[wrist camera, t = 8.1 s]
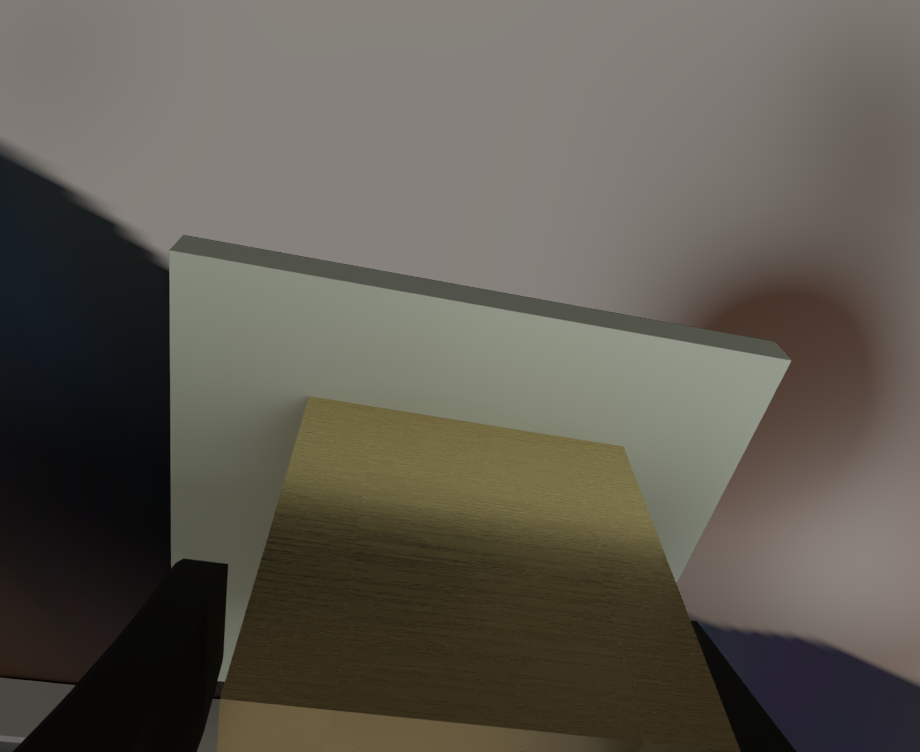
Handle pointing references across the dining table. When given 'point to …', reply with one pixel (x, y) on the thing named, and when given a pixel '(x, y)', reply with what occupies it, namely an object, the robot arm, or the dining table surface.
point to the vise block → (29, 702)
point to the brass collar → (463, 600)
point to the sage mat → (430, 388)
